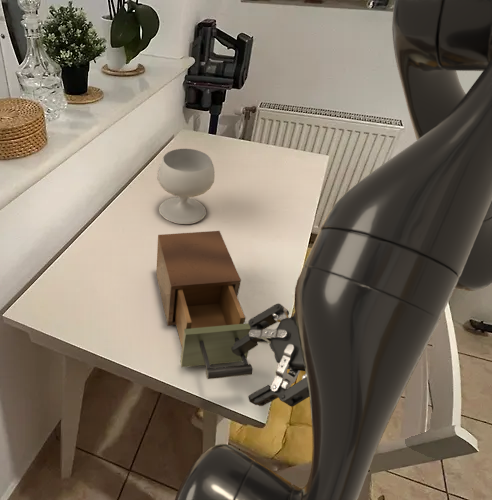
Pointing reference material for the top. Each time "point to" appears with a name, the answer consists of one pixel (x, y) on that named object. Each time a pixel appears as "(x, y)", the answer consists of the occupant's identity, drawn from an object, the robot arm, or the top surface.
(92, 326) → the top surface
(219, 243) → the cabinet
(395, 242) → the robot arm
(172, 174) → the chalice
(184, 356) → the drawer
